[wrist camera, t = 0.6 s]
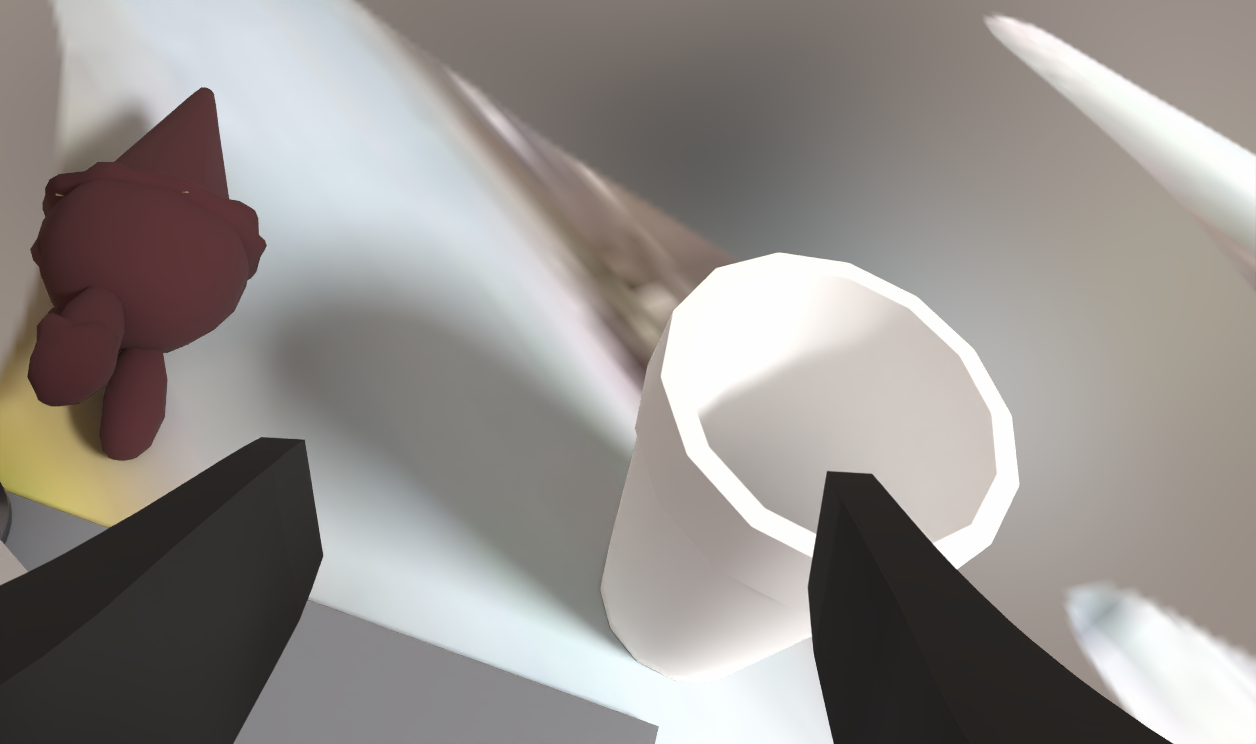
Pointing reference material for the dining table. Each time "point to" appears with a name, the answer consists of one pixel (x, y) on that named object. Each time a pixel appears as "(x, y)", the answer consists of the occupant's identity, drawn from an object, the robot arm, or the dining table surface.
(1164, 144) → the dining table surface
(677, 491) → the foam cup
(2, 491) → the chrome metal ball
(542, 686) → the board
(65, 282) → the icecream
